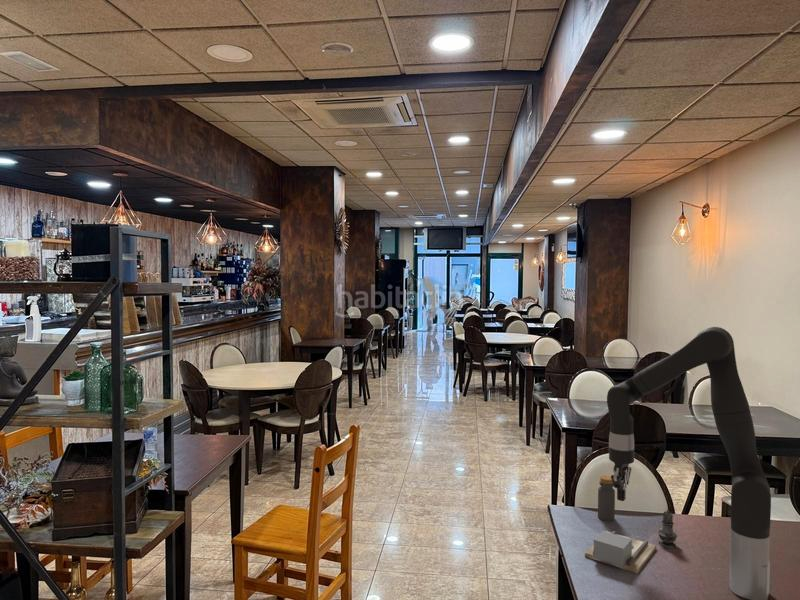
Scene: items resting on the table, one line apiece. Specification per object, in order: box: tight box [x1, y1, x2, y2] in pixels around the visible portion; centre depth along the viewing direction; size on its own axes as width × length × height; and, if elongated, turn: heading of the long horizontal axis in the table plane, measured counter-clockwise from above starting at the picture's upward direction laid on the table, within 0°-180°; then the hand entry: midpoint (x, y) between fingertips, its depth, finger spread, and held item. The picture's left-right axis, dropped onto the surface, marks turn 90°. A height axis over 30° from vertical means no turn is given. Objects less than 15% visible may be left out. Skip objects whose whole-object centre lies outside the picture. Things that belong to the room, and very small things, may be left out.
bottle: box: [597, 475, 616, 522], centre depth 203 cm, size 6×6×15 cm
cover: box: [593, 530, 633, 567], centre depth 170 cm, size 9×8×6 cm
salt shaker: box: [657, 508, 678, 549], centre depth 183 cm, size 6×6×12 cm
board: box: [584, 530, 657, 574], centre depth 177 cm, size 16×20×2 cm
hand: (621, 499), depth 176 cm, fingers closed
